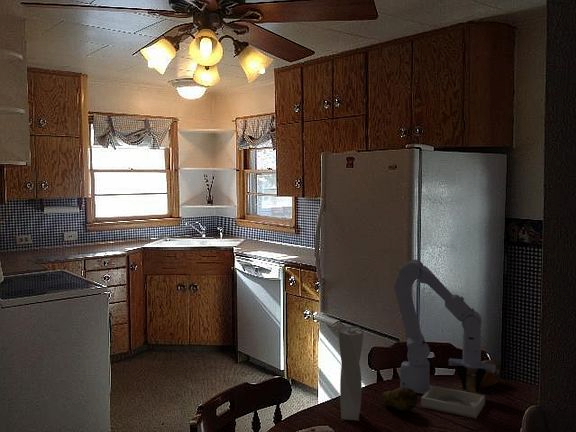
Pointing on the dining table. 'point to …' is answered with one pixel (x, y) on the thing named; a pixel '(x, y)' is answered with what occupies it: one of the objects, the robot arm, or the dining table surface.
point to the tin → (488, 374)
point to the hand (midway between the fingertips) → (471, 390)
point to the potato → (400, 399)
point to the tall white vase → (350, 372)
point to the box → (453, 401)
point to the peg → (471, 383)
